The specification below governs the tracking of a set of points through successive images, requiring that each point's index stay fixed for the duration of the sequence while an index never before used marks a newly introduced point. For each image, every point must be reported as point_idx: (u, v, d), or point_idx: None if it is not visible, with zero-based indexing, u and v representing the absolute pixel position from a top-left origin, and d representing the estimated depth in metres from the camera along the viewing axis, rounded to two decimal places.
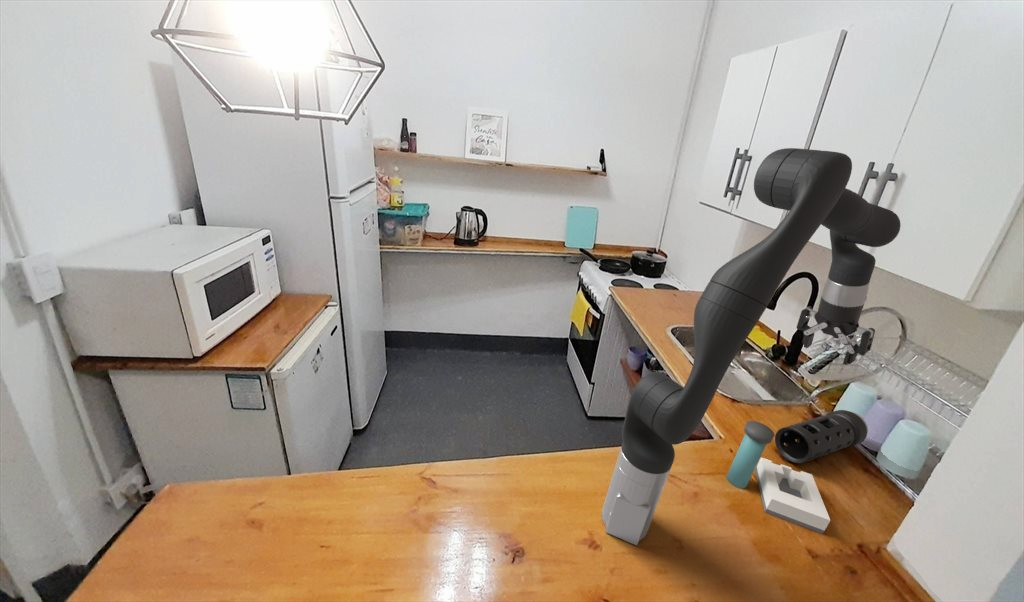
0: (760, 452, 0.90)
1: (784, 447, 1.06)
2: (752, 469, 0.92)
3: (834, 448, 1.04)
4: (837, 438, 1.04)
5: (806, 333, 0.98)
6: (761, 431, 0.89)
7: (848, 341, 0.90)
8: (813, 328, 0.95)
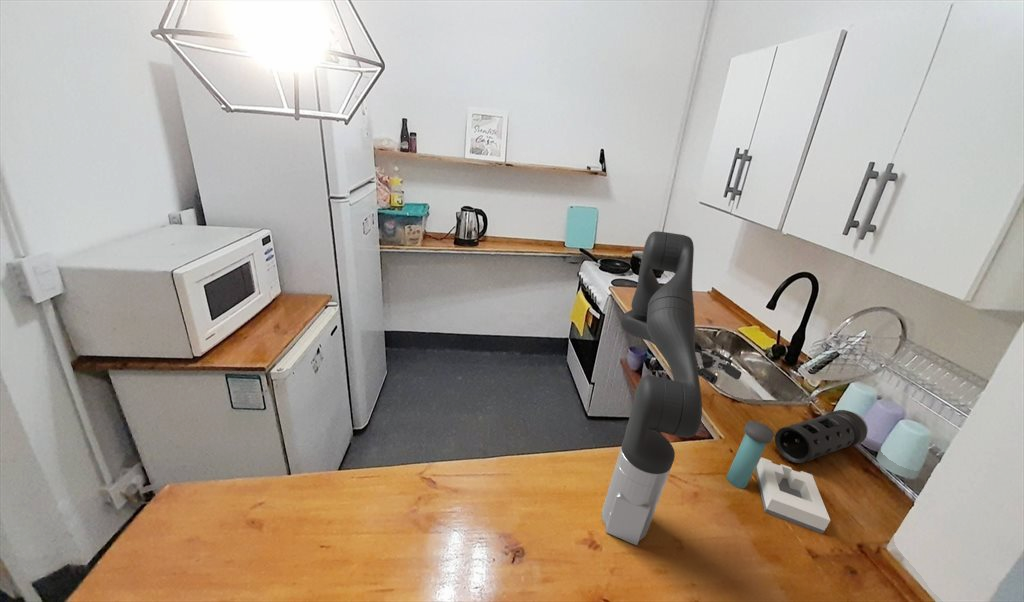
0: (760, 452, 0.90)
1: (784, 447, 1.06)
2: (752, 469, 0.92)
3: (834, 448, 1.04)
4: (837, 438, 1.04)
5: (701, 366, 0.98)
6: (761, 431, 0.89)
7: None
8: (698, 359, 1.00)
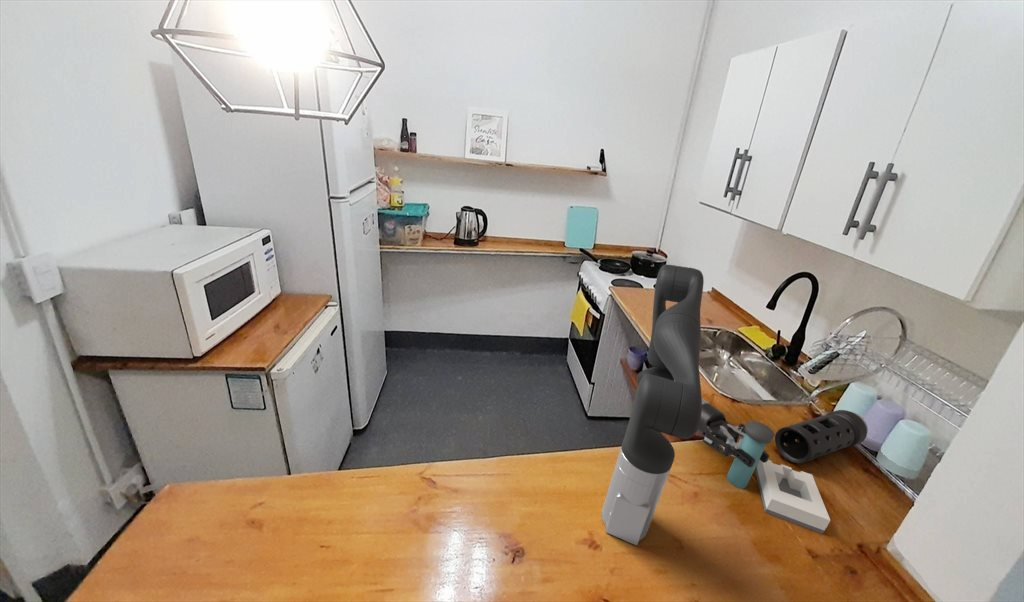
0: (760, 452, 0.90)
1: (784, 447, 1.06)
2: (752, 469, 0.92)
3: (834, 448, 1.04)
4: (837, 438, 1.04)
5: (737, 446, 0.92)
6: (761, 431, 0.89)
7: None
8: (728, 436, 0.95)
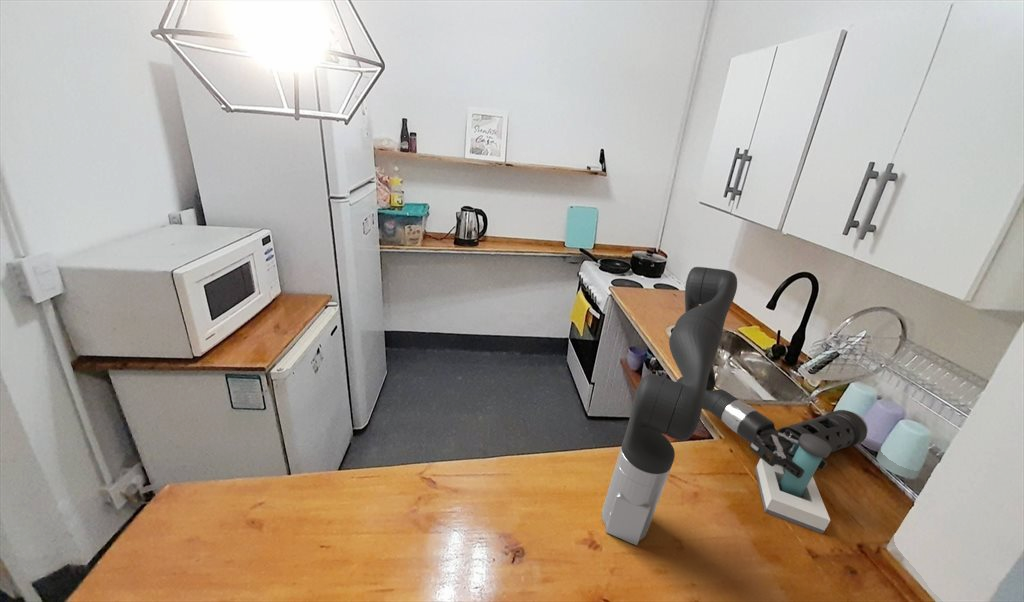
0: (815, 466, 0.86)
1: None
2: (806, 484, 0.88)
3: (834, 448, 1.04)
4: (837, 438, 1.04)
5: (783, 455, 0.88)
6: (817, 445, 0.86)
7: None
8: (777, 445, 0.91)
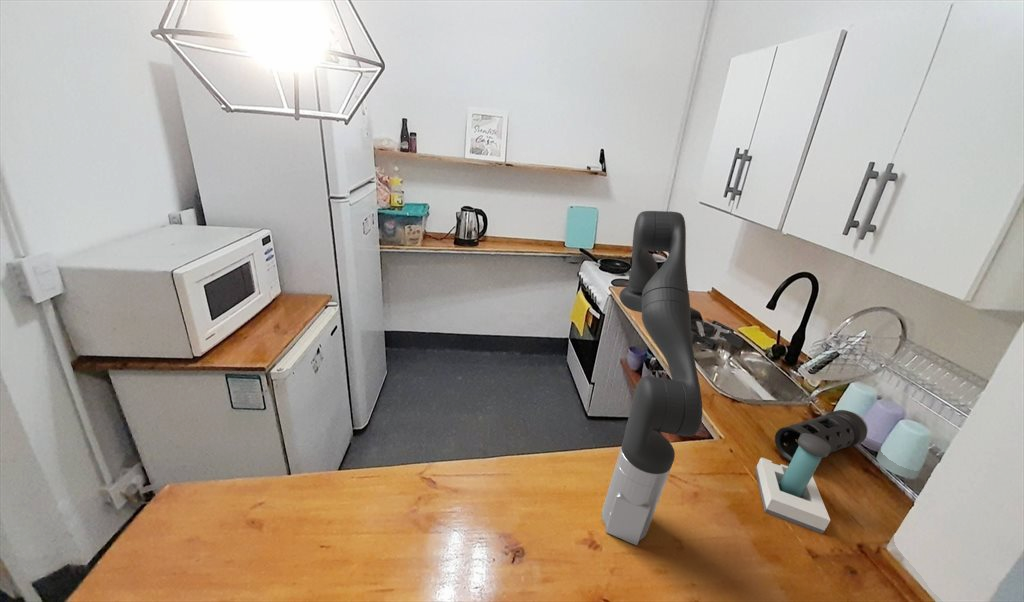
0: (815, 466, 0.86)
1: (784, 447, 1.06)
2: (806, 483, 0.88)
3: (834, 448, 1.04)
4: (837, 438, 1.04)
5: (702, 334, 0.96)
6: (816, 444, 0.86)
7: None
8: (699, 327, 0.98)
